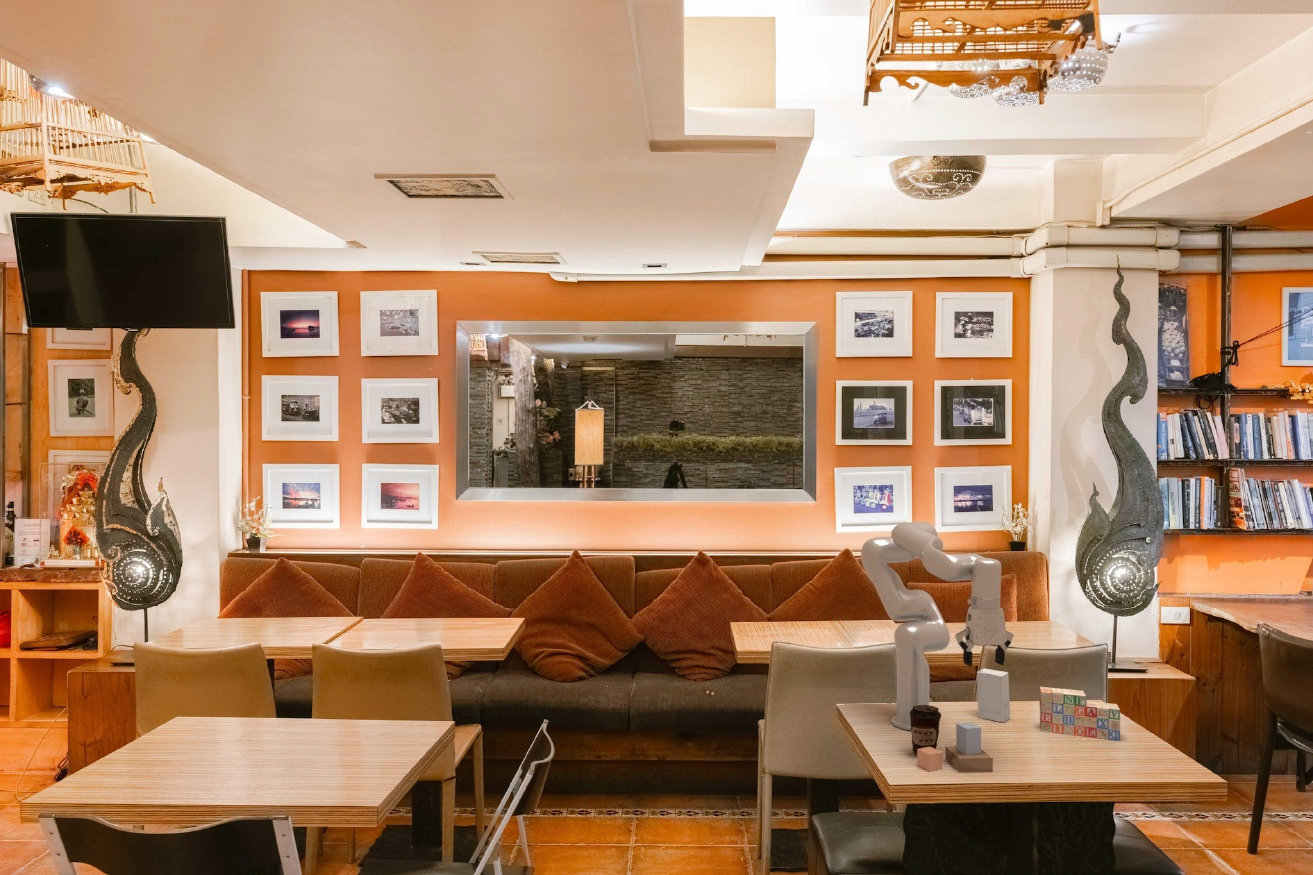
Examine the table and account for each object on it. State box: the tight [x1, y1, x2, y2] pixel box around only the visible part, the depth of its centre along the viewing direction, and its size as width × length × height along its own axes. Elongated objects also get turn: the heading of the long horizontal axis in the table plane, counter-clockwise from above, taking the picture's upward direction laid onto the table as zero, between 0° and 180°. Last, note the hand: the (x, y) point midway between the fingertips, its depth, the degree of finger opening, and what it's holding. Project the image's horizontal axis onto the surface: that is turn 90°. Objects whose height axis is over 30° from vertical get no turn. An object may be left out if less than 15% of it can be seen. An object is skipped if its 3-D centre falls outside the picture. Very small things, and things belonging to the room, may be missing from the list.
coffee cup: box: [910, 704, 942, 756], centre depth 235 cm, size 9×8×13 cm
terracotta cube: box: [916, 747, 943, 772], centre depth 226 cm, size 4×4×4 cm
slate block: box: [955, 722, 982, 755], centre depth 228 cm, size 4×4×7 cm
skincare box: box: [976, 667, 1011, 723], centre depth 268 cm, size 8×6×15 cm
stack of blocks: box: [1039, 686, 1121, 741], centre depth 255 cm, size 21×6×12 cm, turn 69°
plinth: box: [944, 745, 994, 773], centre depth 227 cm, size 9×9×4 cm
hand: (983, 664), depth 235 cm, fingers open, 9 cm apart
